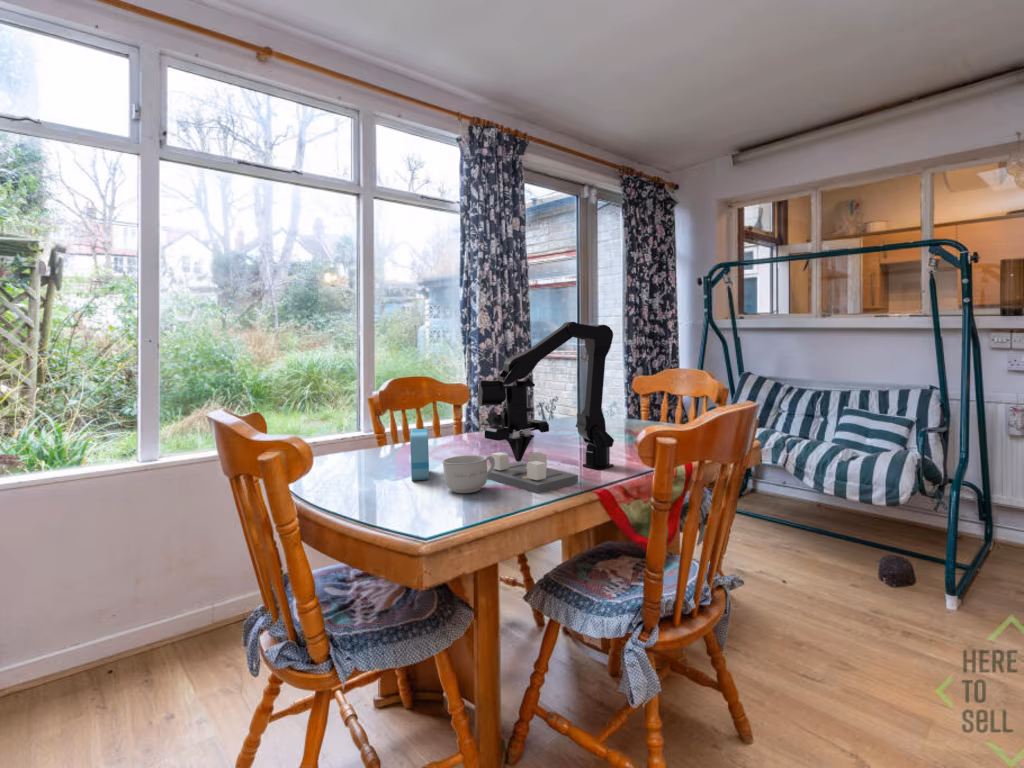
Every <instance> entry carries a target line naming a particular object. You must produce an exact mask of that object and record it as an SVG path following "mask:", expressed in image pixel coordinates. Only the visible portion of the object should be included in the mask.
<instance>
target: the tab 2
mask: <svg viewBox="0 0 1024 768" xmlns="http://www.w3.org/2000/svg"><path fill="white" fill-rule="evenodd" d="M526 463H527V478H530V479H534V480H541V479H545V478H546V463H544V462H540V461H531V462H529V461H528V462H526Z"/></svg>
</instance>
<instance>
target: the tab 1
mask: <svg viewBox="0 0 1024 768" xmlns="http://www.w3.org/2000/svg"><path fill="white" fill-rule="evenodd" d="M490 456H492V457H493V458H494V460H495V466H494V468H493V469H497V470H504V469H509V463H510V459H509V457H510V455H509V454H508V453H505V452H501V451H500V452H495V453H491V454H490Z"/></svg>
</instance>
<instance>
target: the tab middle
mask: <svg viewBox="0 0 1024 768" xmlns="http://www.w3.org/2000/svg"><path fill="white" fill-rule="evenodd" d="M547 456H548V455H547V453H542V452H538V451H536V452H531V453H529V454H528V462H531V461H540V462H544V463H546V469H547V468H548V466H547V465H548V461H547V459H548V458H547Z"/></svg>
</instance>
